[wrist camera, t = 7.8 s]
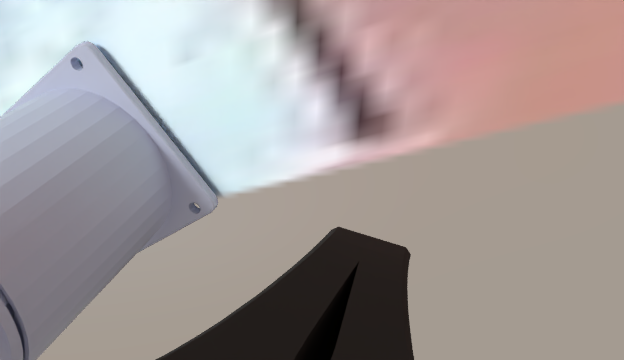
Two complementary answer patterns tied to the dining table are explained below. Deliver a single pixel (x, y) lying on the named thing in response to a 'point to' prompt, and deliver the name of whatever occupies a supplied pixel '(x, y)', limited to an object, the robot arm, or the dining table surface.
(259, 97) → the dining table surface
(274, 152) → the dining table surface
